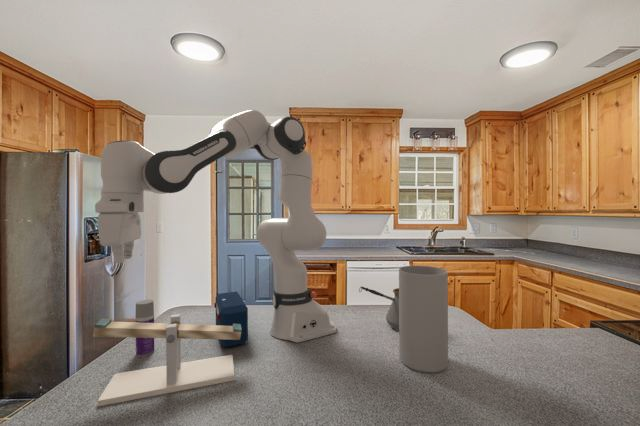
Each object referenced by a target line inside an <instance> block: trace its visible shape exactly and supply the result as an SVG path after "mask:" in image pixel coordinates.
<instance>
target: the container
mask: <svg viewBox="0 0 640 426" xmlns="http://www.w3.org/2000/svg"><path fill="white" fill-rule="evenodd" d="M154 305H155V304H154V300H153V299H142V300H139V301H137V302H135V320H134V322H139V323H155V309H154ZM154 352H155V338H135V356H136V357H138V358H140V357H147V356H151V355H152V354H153V353H154Z"/></svg>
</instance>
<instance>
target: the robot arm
mask: <svg viewBox="0 0 640 426" xmlns="http://www.w3.org/2000/svg"><path fill="white" fill-rule="evenodd" d="M306 146H307V141H306V131H305V128H304V125H303V124H302V122H301V121H300V119H298V118H296V117H294V116H284V117H281V118H279V119H278V120H276V121H275V122H273V123H272V124H271V123H270V122H268V120H267V119H266V117H265V115H264V114H263V113H262V112H260V111H259V110H257V109H249V110H245V111H242V112H239V113H236V114H233V115H232V116H229V117H227V118H225V119H223V120H221V121H219V122H218V123H216V125H214V127H212V128H211V129H210V130H209V135H208V136H207V137H205V138H203V139H201V140H200V141H197V142H195V143H193V144H191V145H189V146H187V147H185V148H183V149H179V150H163V151H159V152H157V153H154V152H152V151H150V150H149V149H147V148H145V147H144V146H142V144H140V143H139V142H138V141H133V140H116V141H111V142H109V143H107V144H106V145H104V147H103V149H102V152H101V157H100V158H101V160H100V178H101V180H102V188H101V192H100V199H99V200H98V201H97V202H96V203H95V204H94V211H95V213H96V214H98V216H97V228H98V229H97V230H98V238H99V242H100V245H101V246H102V247H111V251H112V255H113V263H115V264H122V263H124V262H125V259H127V260H128V259H130V260H131V258H132V257H133V250H134V245H135V241H136V240H139V239H141V237H142V223H141V215H140V213H144V208H145V207H144V191H146V192H151V193H155V194H160V195H163V194H175V193H178V192H181V191H183V190H184V189H186V188H187V187H188V186H189V184H190V183H191V181H193V179H194V177H195V176H196V174H197V173H198V172H200V171H201V170H203V169H204V168H206V167H207V166H209V165H211V164H213V163H214V162H217V160H219V159H221V158H226V159H227V158H228V159H229V158H231V157H235V156H238V155H240V154H241V153H244V152H246V151H247V150H249V149H251V148H252V147H253V148H254V150H256V152H257V153H258V155H260V157H261V158H263V159H264V160H267V161H277V160H278V159H279V160H280V163H281V172H280V173H281V175H280V183H279V190H278V191H279V192H278V199H279V202H280V203H281V204H282V205H283V206H284V207H286V208H288V211H289V217H273V218H268V219H264V220H262V221H261V222H260V223H259V224H258V226H257V230H256V237H257V241H258V242H259V244H260V245H261V246H262V247H263V248H264V249H265V251H266V252H267V253H268V255H269V257H270V259H271V262H272V266H273V273H274V290H273V296H272V297H273V298H272V299H273V302H272V303H273V308H274V311H273V320H272V325H271V328H270V331H269V332H270V335H271V336H272V337H274V338H276V339H279V340H286V341H290V342H294V343H302V342H305V341H309V340H313V339H317V338H321V337H324V336H328V335H329V336H330V335H332V334H335V333H336V332H337V326H336V324H335V323H334V322H333V321H332V320H331V319H330V316H329V313H328V311H327V309H326V308H325V307H324V306H323V305H322V304H320V303H318V302H317V301H316V300H314V299H317V297H318V294H317V293H316V292H315V291H313V290H311V289H309V288H308V268H307V266H306V264H305V263H304V262H303V261H301V260H300V259H299V258H298V257H297V255H296V254H295V253H296V252H295V251H305V252H306V251H312V250H319V249H321V248H322V247H323V246H324V245H325V244H324V243H325V242H326V240H327V230H326V226H325V224H324V223H323V222H322V221H321V220H320V219H319V218H318V217H317V214H315V212H314V210H313V207H312V206H313V205H312V199H311V198H312V184H313V160H312V155H311V154H310V153H309V151H307V150H305V148H306Z"/></svg>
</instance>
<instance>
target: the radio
mask: <svg viewBox="0 0 640 426" xmlns="http://www.w3.org/2000/svg"><path fill="white" fill-rule="evenodd" d="M213 306H214V309H215V325H221V326H233V324H241V329H242V330H241V336H240V340H228V339H218V340H219V343H220V345H221V347H223V348H228V347H235V346H239V345H244V344H246V343H247V341H248V339H249V319H248V318H249V317H248V316H249V315H248V314H249V313H248V312H249V310H248V309H249V308H248V307H247V305H246V303H245V302H244V300H243V298H242V297H241V295H240V293H239V292H238V291H231V292H230V291H228V292H223V293H221V292H220V293H218V294H216V296H215V302H214V305H213Z"/></svg>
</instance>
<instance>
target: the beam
mask: <svg viewBox="0 0 640 426" xmlns="http://www.w3.org/2000/svg"><path fill="white" fill-rule="evenodd" d="M112 319H113V318H101V319H100V320H98V321H97V322H96V324H95V325H94V326H93V327H94V329H93V334H92V337H94V338H95V337H97V338H99V337H100V338H135V339H136V338H154V339H166V327H167V325H168V324H169V323H165V322H163V323H161V322H160V323H159V322H158V323H157V322H154V323H139V322H135V321H134V322H133V321H130V322H129V321H112ZM170 324H177V338H181V340H182V339H184V340H186V339H188V340H189V339H191V340H193V339H194V340H219V339H228V340H240V336H241V330H242V329H241V324H233V326H221V325H216V324H194V323H193V324H190V323H181V322H180V323H178V322H173V323H171V322H170Z"/></svg>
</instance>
